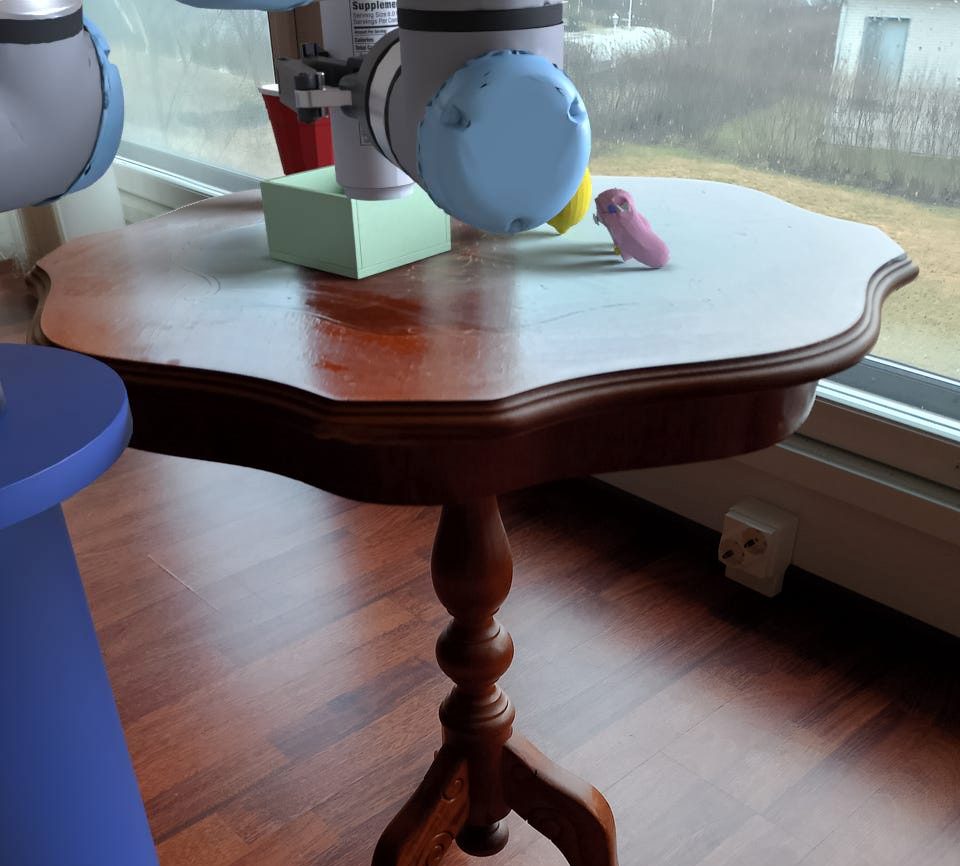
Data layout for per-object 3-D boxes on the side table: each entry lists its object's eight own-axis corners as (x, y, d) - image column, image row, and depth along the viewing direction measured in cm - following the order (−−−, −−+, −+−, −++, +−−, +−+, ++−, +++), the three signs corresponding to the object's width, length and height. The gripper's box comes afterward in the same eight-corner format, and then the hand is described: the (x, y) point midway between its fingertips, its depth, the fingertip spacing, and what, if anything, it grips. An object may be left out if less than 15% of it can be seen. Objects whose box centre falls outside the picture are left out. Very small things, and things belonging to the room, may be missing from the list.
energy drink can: (395, 180, 81) (381, -55, 73) (435, 194, 77) (424, -54, 68) (323, 191, 79) (299, -51, 70) (360, 206, 74) (339, -50, 66)
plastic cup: (388, 205, 118) (379, 83, 112) (300, 220, 113) (285, 94, 107) (341, 189, 126) (330, 74, 119) (256, 202, 121) (240, 84, 114)
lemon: (601, 232, 106) (604, 144, 102) (567, 244, 103) (569, 154, 98) (557, 224, 109) (558, 139, 105) (522, 235, 106) (522, 148, 101)
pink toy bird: (610, 259, 103) (580, 192, 100) (654, 235, 102) (624, 166, 99) (628, 289, 95) (595, 217, 92) (675, 263, 94) (644, 189, 91)
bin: (358, 279, 95) (350, 198, 91) (269, 257, 101) (259, 181, 97) (451, 250, 102) (448, 173, 98) (363, 231, 109) (357, 159, 105)
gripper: (270, 193, 59) (231, 128, 77) (593, 165, 63) (483, 109, 82) (250, 38, 55) (214, 8, 73) (597, 19, 59) (480, -5, 77)
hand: (356, 61), depth 77 cm, fingers closed on energy drink can, 6 cm apart
